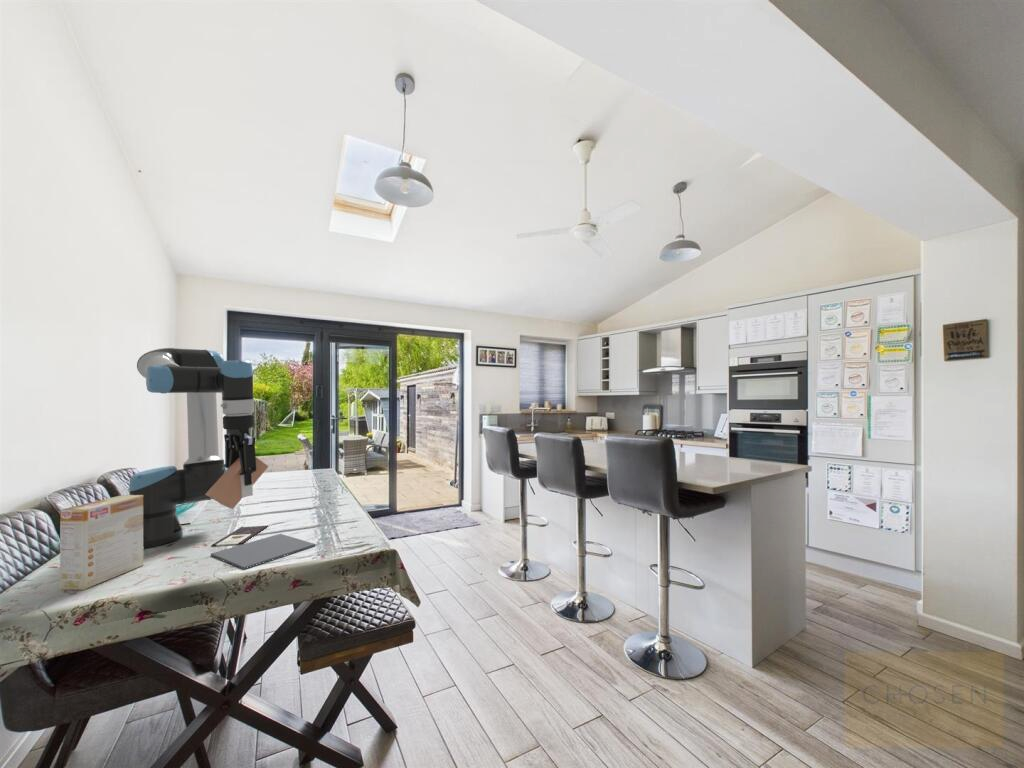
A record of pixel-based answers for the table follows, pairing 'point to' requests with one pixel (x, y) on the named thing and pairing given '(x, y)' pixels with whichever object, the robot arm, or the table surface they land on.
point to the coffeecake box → (100, 541)
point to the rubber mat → (262, 550)
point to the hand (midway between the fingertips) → (241, 494)
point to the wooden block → (233, 484)
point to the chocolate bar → (240, 536)
